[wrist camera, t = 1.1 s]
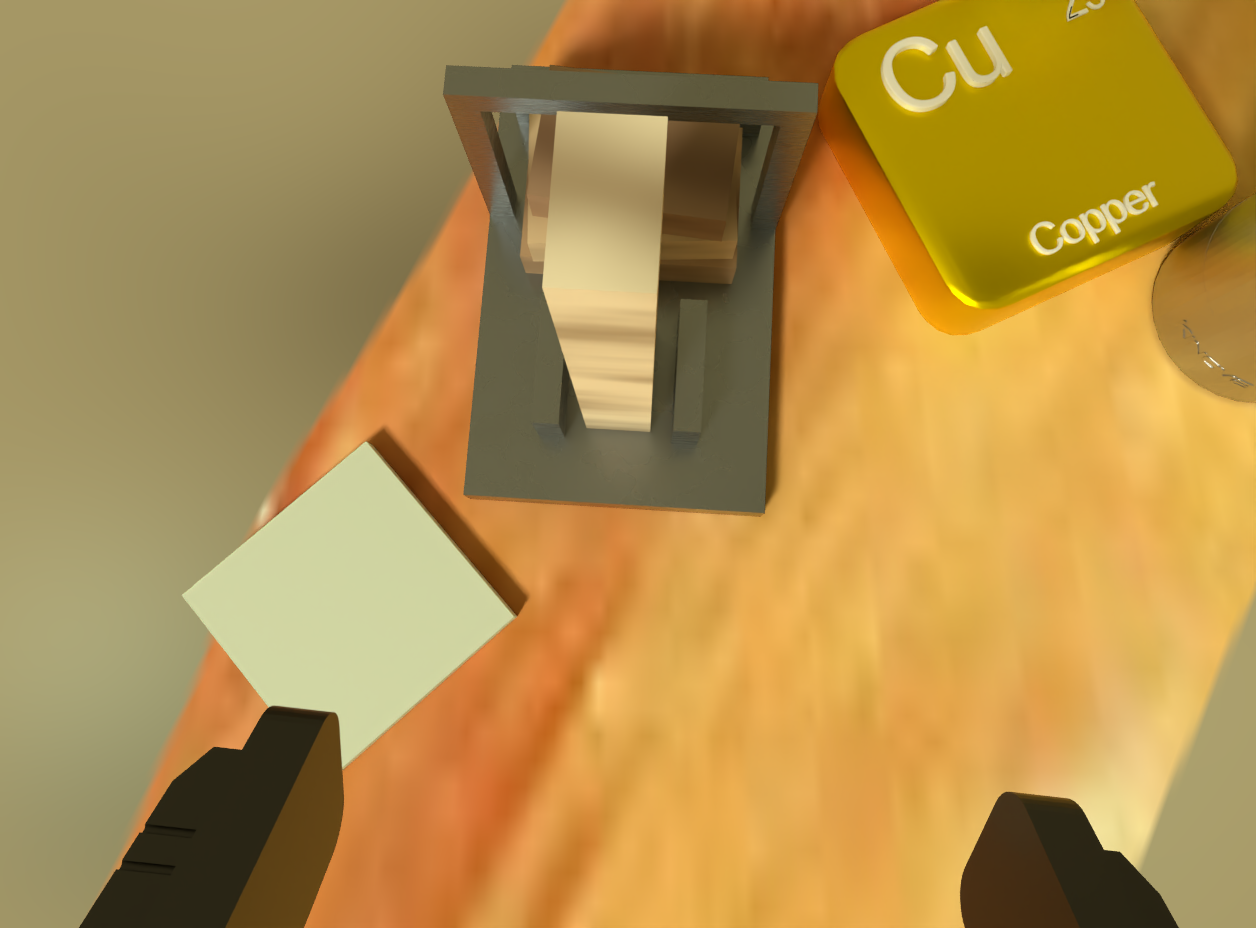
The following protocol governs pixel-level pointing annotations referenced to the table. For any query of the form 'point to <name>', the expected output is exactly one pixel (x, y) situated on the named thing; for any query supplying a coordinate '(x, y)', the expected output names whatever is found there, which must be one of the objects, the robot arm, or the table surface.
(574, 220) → the beige wooden bar
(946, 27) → the copper element tile
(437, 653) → the mat
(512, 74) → the offcut rack
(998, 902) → the robot arm
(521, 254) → the offcut stack
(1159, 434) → the table surface
